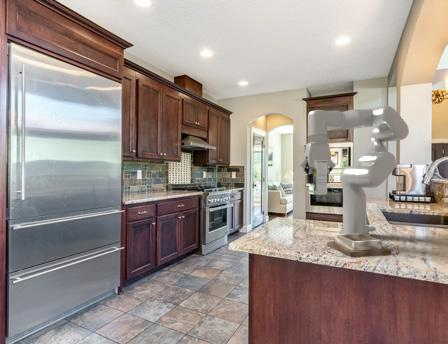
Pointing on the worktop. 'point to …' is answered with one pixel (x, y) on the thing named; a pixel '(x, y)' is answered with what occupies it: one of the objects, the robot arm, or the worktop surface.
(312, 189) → the syrup box
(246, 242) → the worktop surface
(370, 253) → the collar board
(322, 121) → the robot arm
